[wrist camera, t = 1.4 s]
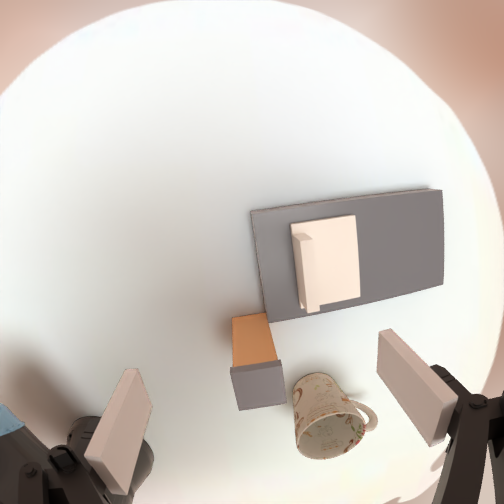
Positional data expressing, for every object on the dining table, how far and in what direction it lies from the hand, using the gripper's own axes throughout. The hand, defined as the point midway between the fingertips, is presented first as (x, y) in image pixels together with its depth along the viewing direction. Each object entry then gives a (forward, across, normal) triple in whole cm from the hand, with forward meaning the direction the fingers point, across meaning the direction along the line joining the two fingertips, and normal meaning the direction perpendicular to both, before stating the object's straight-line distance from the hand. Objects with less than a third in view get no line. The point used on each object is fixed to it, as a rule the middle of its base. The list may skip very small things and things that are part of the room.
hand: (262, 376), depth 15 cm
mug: (+21, +9, -20) cm, 30 cm away
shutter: (+17, +9, 0) cm, 19 cm away
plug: (+21, 0, -8) cm, 22 cm away
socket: (+21, +13, +1) cm, 24 cm away
